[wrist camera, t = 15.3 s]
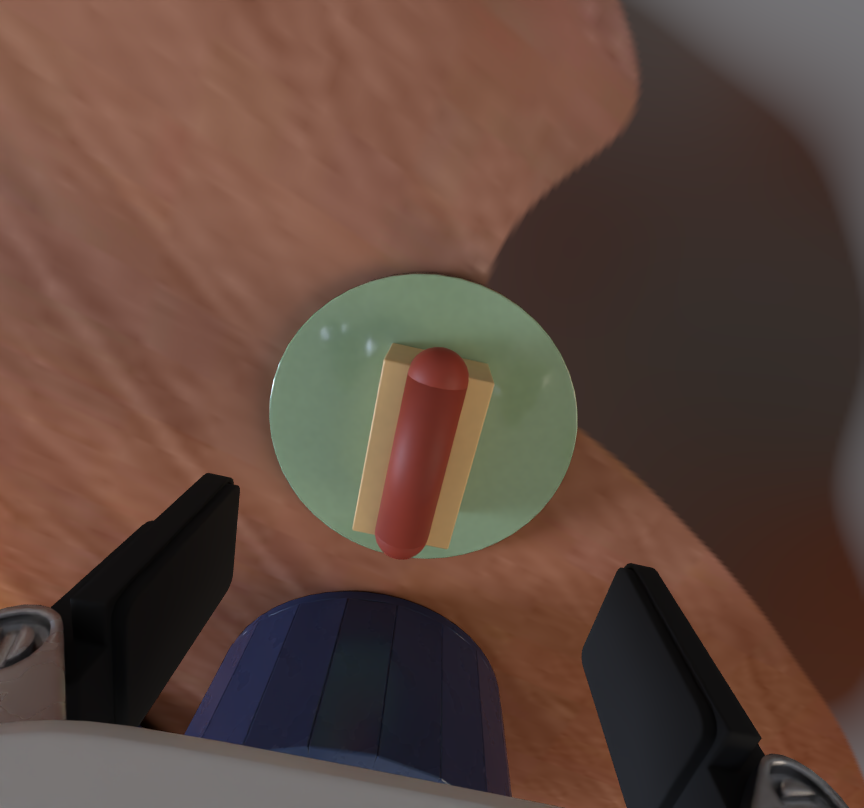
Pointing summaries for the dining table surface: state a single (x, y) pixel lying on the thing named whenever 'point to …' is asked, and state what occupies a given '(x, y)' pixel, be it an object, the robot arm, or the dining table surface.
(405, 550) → the hot dog
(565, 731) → the dining table surface
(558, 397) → the plate
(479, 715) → the pot
